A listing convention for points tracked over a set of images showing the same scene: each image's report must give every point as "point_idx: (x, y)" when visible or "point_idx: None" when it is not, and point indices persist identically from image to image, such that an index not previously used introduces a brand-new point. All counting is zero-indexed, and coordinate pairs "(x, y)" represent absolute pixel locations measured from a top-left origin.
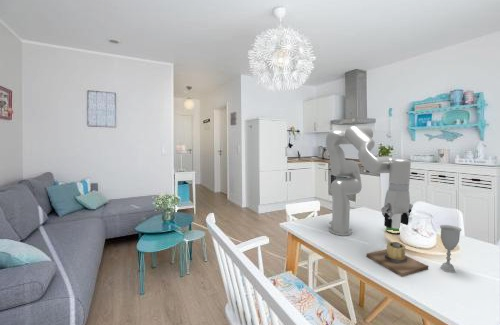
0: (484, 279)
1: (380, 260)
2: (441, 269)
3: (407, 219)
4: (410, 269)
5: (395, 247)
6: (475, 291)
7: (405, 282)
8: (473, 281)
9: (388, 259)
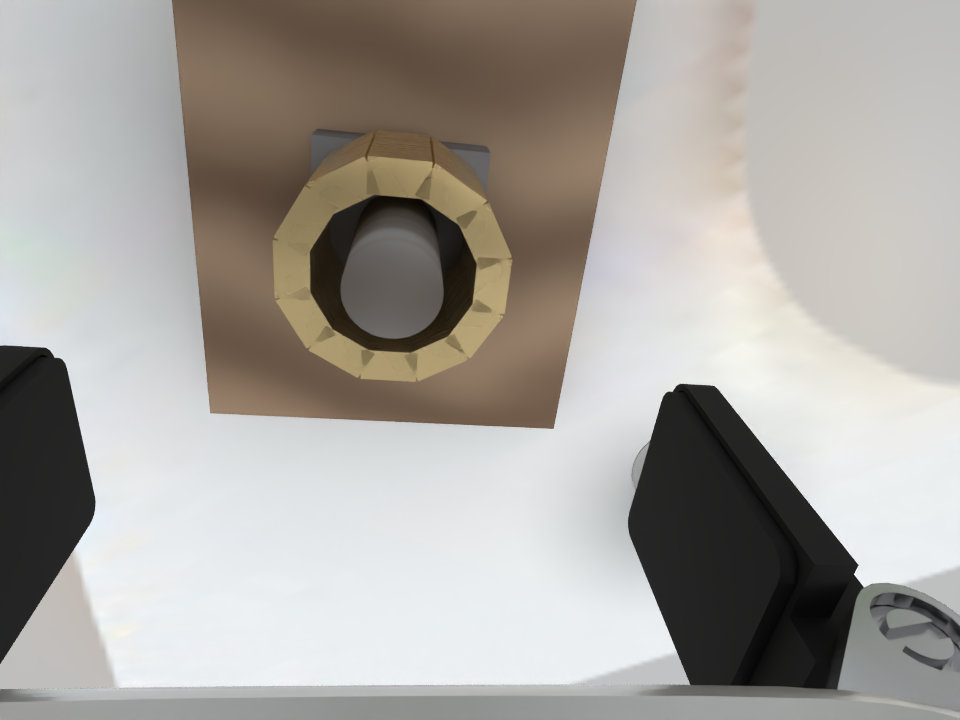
0: None
1: (204, 154)
2: (640, 451)
3: (690, 643)
4: (346, 405)
5: (317, 319)
6: (518, 643)
7: (177, 452)
8: (638, 594)
9: None
